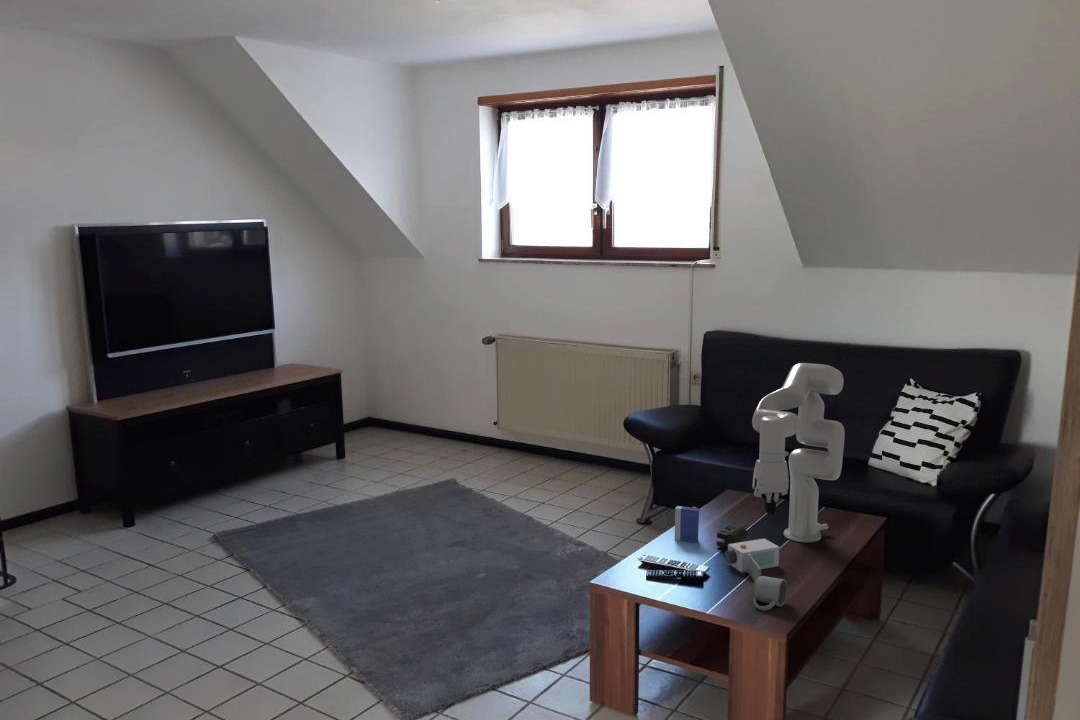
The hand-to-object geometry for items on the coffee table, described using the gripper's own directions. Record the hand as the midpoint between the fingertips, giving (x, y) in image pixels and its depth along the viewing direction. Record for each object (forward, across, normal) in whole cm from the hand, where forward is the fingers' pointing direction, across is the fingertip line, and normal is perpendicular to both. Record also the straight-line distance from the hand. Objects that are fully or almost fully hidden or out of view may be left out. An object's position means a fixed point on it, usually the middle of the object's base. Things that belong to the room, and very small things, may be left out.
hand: (770, 513), depth 266 cm
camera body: (+20, +1, -8) cm, 22 cm away
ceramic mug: (+20, +9, +20) cm, 30 cm away
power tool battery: (+21, +2, -23) cm, 31 cm away
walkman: (+21, +15, -33) cm, 42 cm away
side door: (+20, +6, +3) cm, 21 cm away
